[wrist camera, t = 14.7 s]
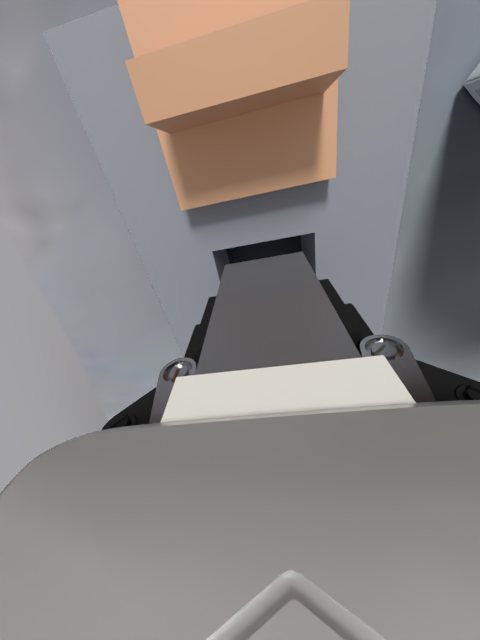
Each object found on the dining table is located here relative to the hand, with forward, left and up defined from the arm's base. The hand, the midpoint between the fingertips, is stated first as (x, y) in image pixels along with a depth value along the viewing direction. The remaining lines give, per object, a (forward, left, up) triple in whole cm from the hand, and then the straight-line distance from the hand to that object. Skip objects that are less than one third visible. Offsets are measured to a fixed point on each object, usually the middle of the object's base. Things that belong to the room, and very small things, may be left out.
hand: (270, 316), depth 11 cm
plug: (0, 0, -2) cm, 2 cm away
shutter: (+9, 0, -3) cm, 9 cm away
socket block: (+3, 0, -8) cm, 9 cm away
